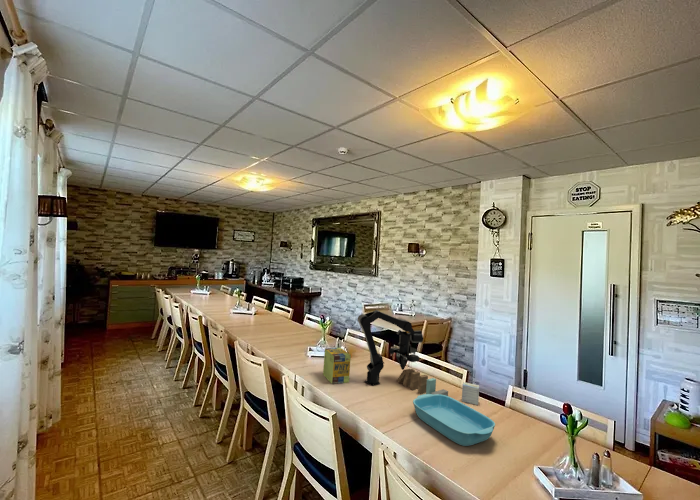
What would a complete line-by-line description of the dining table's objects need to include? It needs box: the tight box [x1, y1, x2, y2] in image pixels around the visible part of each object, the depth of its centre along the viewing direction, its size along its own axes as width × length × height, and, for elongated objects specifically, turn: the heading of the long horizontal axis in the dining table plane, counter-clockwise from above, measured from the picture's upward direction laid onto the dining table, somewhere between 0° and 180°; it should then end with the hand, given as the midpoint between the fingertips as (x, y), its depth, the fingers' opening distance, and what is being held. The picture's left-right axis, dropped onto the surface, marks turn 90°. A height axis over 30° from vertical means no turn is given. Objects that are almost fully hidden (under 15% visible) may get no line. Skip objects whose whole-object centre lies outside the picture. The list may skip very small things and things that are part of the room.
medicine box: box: [461, 381, 480, 406], centre depth 162 cm, size 8×4×9 cm, turn 65°
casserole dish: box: [412, 393, 496, 447], centre depth 136 cm, size 37×22×7 cm, turn 30°
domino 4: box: [417, 374, 429, 395], centre depth 170 cm, size 2×5×9 cm, turn 126°
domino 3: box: [409, 370, 421, 391], centre depth 174 cm, size 2×5×9 cm, turn 126°
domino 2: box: [402, 368, 416, 388], centre depth 178 cm, size 2×5×9 cm, turn 126°
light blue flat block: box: [425, 377, 437, 394], centre depth 165 cm, size 2×5×9 cm, turn 126°
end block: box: [431, 388, 449, 396], centre depth 161 cm, size 10×3×4 cm, turn 126°
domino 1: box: [396, 368, 410, 384], centre depth 181 cm, size 2×5×9 cm
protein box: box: [322, 347, 352, 385], centre depth 182 cm, size 10×15×16 cm
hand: (402, 369), depth 182 cm, fingers closed
